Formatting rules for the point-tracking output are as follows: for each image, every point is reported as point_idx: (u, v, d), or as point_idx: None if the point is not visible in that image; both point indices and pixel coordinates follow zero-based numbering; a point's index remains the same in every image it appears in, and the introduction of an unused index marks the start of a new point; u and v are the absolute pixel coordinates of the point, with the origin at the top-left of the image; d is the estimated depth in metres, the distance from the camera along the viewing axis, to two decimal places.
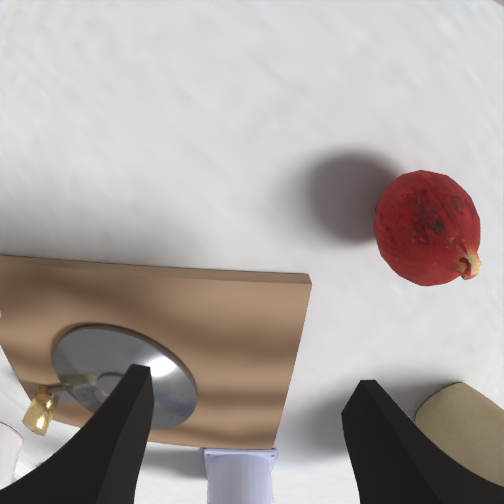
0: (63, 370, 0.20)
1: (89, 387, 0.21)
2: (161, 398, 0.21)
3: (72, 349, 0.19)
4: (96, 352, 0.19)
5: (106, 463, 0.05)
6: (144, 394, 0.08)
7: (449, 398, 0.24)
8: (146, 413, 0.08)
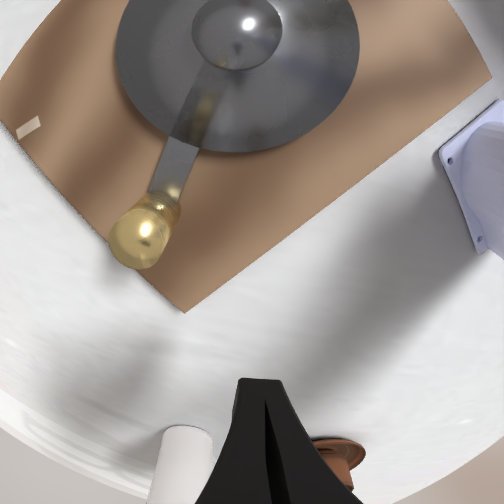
0: (143, 88, 0.13)
1: (195, 78, 0.13)
2: (296, 5, 0.11)
3: (137, 27, 0.11)
4: None
5: (265, 483, 0.05)
6: None
7: None
8: None
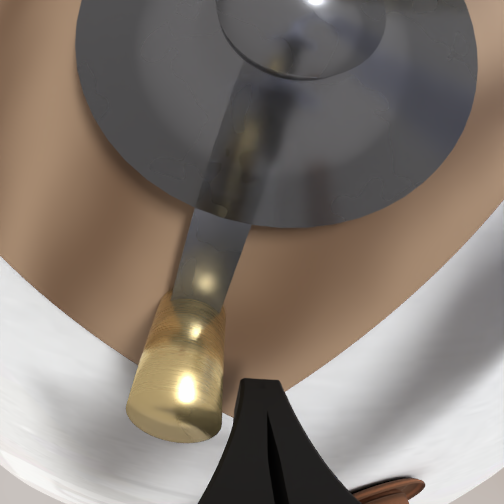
0: (134, 123, 0.07)
1: (231, 97, 0.07)
2: None
3: (110, 15, 0.06)
4: None
5: (267, 483, 0.05)
6: None
7: None
8: None
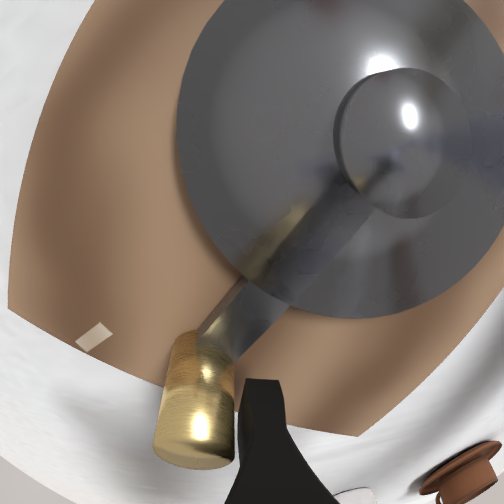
0: (221, 189, 0.08)
1: (317, 200, 0.08)
2: (477, 120, 0.07)
3: (231, 63, 0.07)
4: (302, 26, 0.06)
5: (290, 482, 0.05)
6: None
7: None
8: None
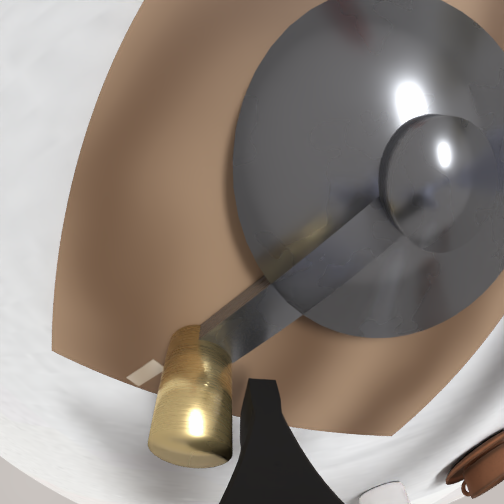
0: (267, 190, 0.08)
1: (352, 219, 0.09)
2: (500, 174, 0.08)
3: (306, 70, 0.07)
4: (376, 54, 0.06)
5: (286, 482, 0.05)
6: None
7: None
8: None
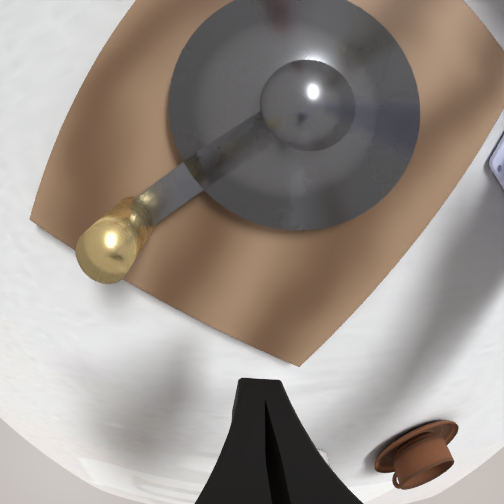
0: (187, 100, 0.12)
1: (240, 124, 0.13)
2: (373, 112, 0.13)
3: (220, 35, 0.11)
4: (268, 26, 0.11)
5: (265, 483, 0.05)
6: None
7: None
8: None
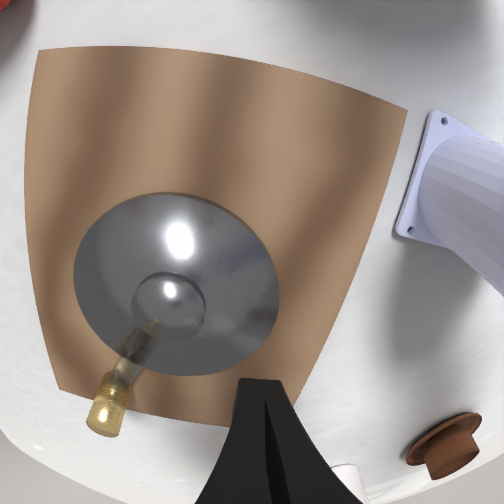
0: (100, 323, 0.17)
1: (138, 328, 0.17)
2: (224, 284, 0.16)
3: (89, 276, 0.16)
4: (112, 257, 0.15)
5: (265, 483, 0.05)
6: None
7: None
8: None
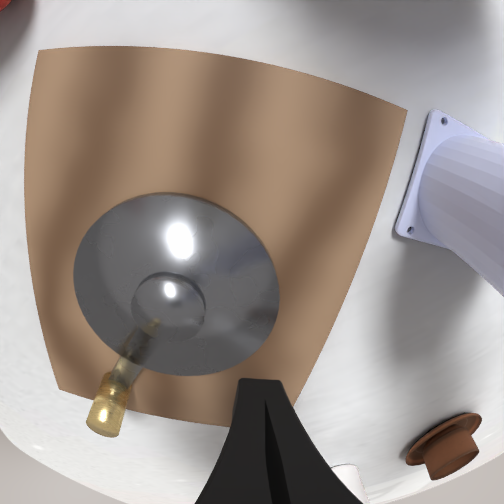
0: (100, 323, 0.17)
1: (138, 328, 0.17)
2: (224, 284, 0.16)
3: (89, 276, 0.16)
4: (112, 257, 0.15)
5: (265, 483, 0.05)
6: None
7: None
8: None
